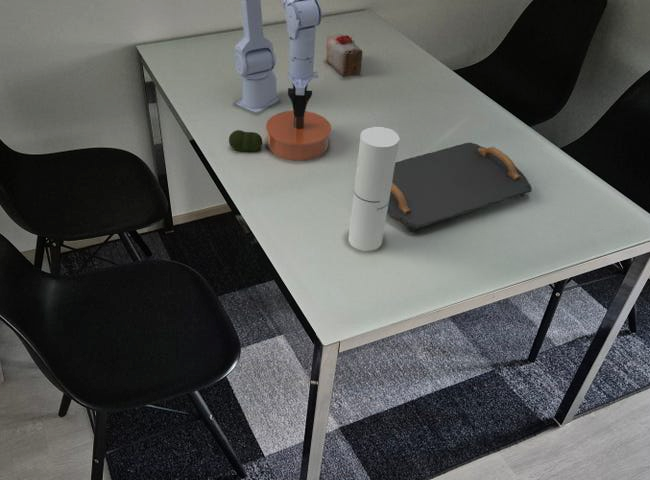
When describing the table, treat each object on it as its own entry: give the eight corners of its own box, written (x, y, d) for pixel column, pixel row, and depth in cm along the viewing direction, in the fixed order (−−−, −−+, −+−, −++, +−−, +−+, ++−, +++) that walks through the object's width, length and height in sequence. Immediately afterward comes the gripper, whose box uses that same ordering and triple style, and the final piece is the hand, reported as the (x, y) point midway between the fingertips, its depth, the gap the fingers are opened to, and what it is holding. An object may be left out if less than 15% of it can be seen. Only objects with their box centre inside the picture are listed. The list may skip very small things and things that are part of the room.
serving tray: (477, 148, 163) (482, 126, 159) (541, 197, 148) (549, 174, 144) (347, 184, 150) (349, 162, 146) (403, 242, 135) (407, 219, 131)
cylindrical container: (346, 229, 138) (357, 127, 121) (378, 228, 138) (394, 126, 121) (351, 251, 132) (364, 147, 115) (385, 250, 133) (402, 146, 116)
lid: (293, 107, 168) (293, 89, 164) (343, 128, 160) (345, 110, 157) (252, 131, 158) (252, 113, 155) (304, 155, 151) (305, 136, 147)
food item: (321, 60, 199) (323, 29, 192) (344, 56, 201) (347, 25, 194) (341, 79, 190) (344, 47, 183) (364, 75, 192) (368, 43, 185)
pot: (292, 123, 170) (293, 107, 167) (339, 143, 163) (341, 126, 160) (255, 146, 161) (255, 129, 158) (302, 169, 154) (303, 151, 151)
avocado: (228, 154, 159) (227, 138, 155) (230, 141, 162) (229, 125, 158) (261, 155, 159) (261, 140, 155) (263, 142, 162) (262, 127, 158)
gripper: (319, 69, 141) (315, 124, 150) (319, 42, 151) (315, 95, 160) (287, 68, 141) (285, 123, 150) (289, 41, 151) (287, 93, 160)
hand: (299, 108), depth 155 cm, fingers open, 7 cm apart
